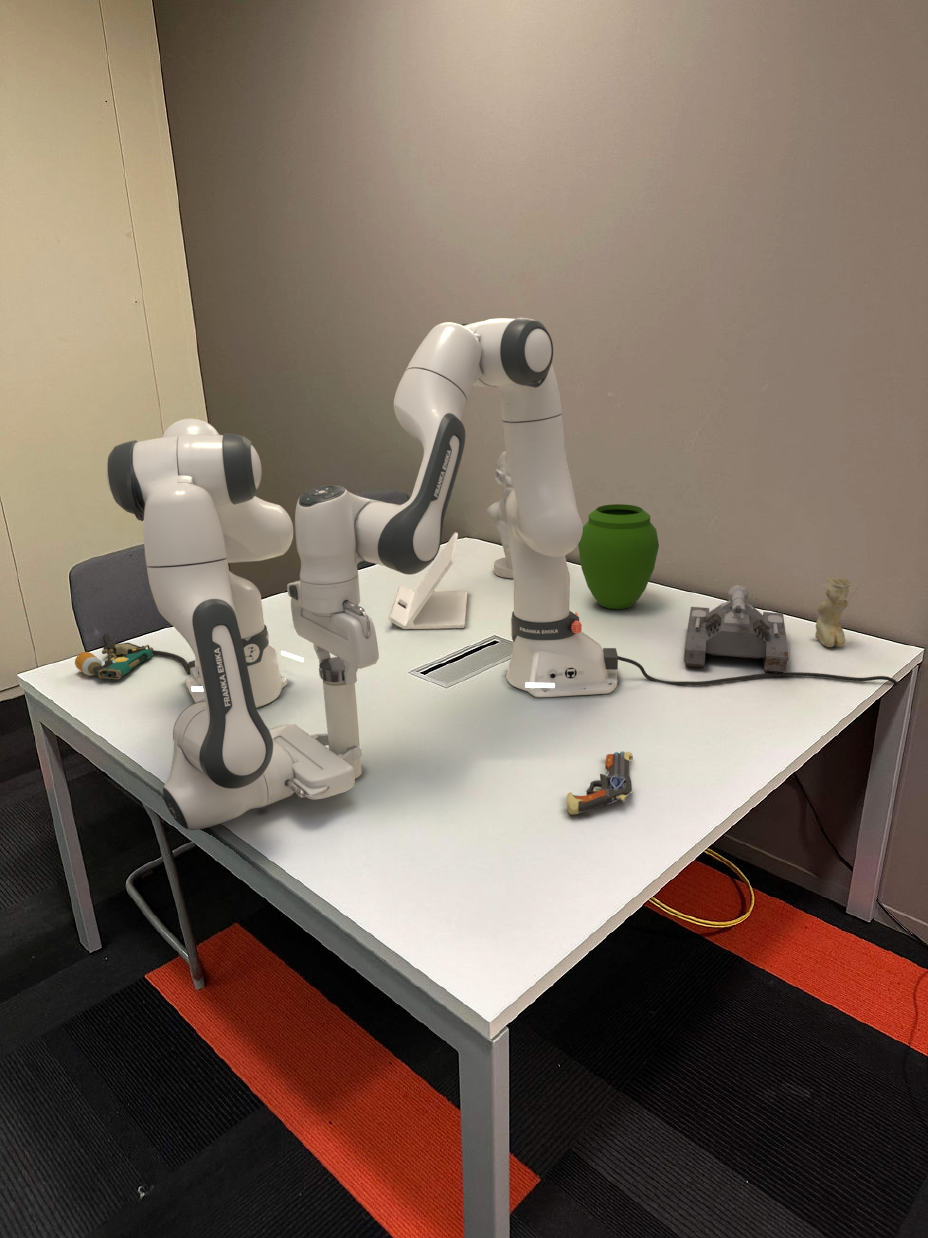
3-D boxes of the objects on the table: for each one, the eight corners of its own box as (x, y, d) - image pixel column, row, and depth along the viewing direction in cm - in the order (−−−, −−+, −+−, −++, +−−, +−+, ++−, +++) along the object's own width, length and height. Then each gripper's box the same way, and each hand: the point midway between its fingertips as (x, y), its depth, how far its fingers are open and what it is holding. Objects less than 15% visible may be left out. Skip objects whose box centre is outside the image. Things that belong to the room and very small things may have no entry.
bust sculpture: (503, 593, 225) (502, 460, 212) (483, 567, 247) (480, 445, 234) (562, 587, 228) (563, 456, 215) (536, 562, 250) (536, 441, 237)
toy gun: (564, 803, 127) (632, 801, 125) (572, 748, 145) (632, 746, 143) (566, 820, 128) (634, 818, 125) (574, 763, 145) (633, 761, 143)
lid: (351, 665, 139) (350, 654, 138) (360, 678, 134) (359, 667, 133) (316, 671, 137) (315, 660, 136) (324, 685, 132) (322, 673, 131)
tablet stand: (467, 593, 225) (465, 531, 219) (465, 628, 202) (462, 559, 196) (399, 594, 226) (395, 532, 220) (388, 629, 203) (384, 560, 197)
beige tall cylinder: (339, 763, 145) (330, 661, 138) (366, 767, 143) (358, 664, 137) (326, 779, 140) (316, 674, 134) (354, 783, 139) (345, 677, 132)
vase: (599, 587, 227) (601, 497, 218) (668, 600, 216) (673, 505, 208) (562, 608, 212) (564, 513, 204) (634, 623, 202) (639, 523, 193)
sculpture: (821, 649, 184) (830, 583, 179) (808, 637, 191) (816, 573, 185) (848, 649, 184) (858, 582, 179) (834, 636, 191) (843, 572, 185)
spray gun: (121, 650, 196) (171, 662, 191) (61, 674, 182) (113, 688, 176) (119, 633, 195) (170, 644, 189) (59, 656, 181) (111, 668, 175)
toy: (689, 626, 199) (693, 565, 193) (780, 633, 193) (787, 570, 188) (682, 670, 176) (687, 601, 171) (785, 679, 170) (794, 609, 165)
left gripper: (302, 781, 124) (382, 750, 132) (242, 731, 139) (316, 706, 147) (306, 818, 126) (384, 785, 134) (246, 765, 141) (320, 738, 149)
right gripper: (385, 605, 125) (391, 691, 130) (316, 574, 140) (323, 652, 145) (348, 615, 121) (356, 703, 126) (281, 583, 136) (289, 662, 141)
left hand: (348, 743), depth 141 cm, fingers closed on beige tall cylinder, 5 cm apart
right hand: (337, 675), depth 136 cm, fingers closed on lid, 5 cm apart
